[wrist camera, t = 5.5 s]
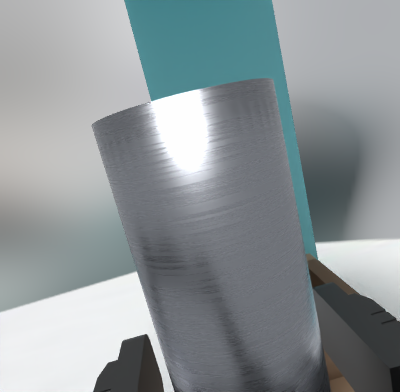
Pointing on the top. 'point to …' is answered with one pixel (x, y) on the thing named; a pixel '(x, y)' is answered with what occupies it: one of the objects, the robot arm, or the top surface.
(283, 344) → the peg
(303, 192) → the teal angle bracket
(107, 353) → the top surface
